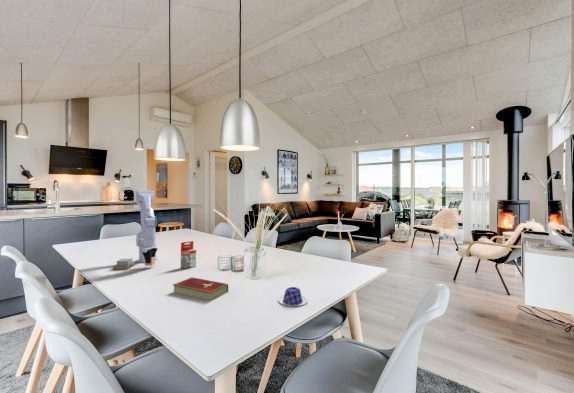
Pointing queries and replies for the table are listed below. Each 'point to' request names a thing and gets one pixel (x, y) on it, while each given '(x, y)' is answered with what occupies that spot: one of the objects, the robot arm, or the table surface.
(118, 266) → the base block
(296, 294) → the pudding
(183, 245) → the ink box
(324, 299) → the table surface
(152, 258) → the cube
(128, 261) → the top block
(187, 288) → the hardcover book
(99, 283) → the table surface
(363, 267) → the table surface
